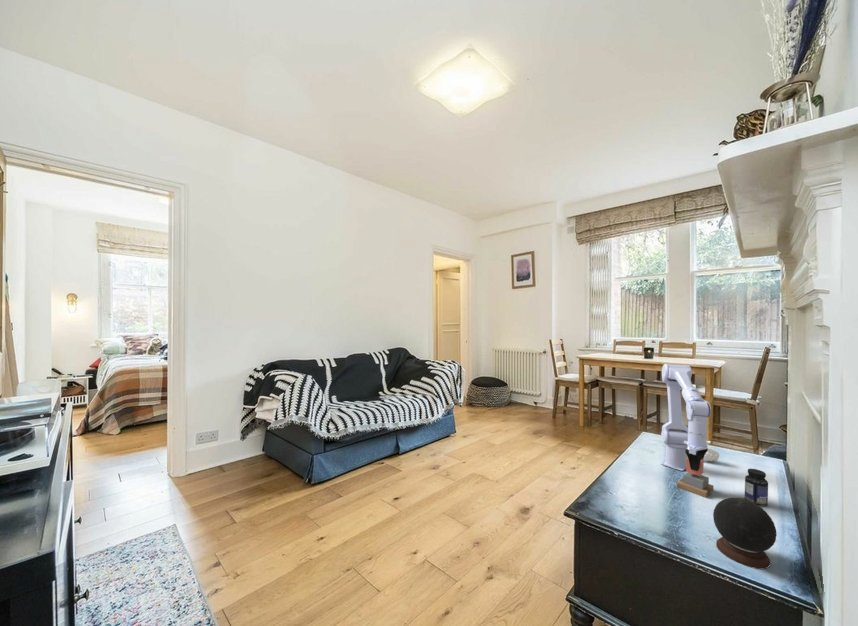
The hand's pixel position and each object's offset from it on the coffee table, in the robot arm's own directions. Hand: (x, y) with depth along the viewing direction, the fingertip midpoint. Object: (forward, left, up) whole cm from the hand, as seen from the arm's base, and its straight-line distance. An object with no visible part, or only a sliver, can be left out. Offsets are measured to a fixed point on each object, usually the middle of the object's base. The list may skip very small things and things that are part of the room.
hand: (695, 468), depth 134 cm
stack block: (0, 0, -2) cm, 2 cm away
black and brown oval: (+33, +20, -8) cm, 39 cm away
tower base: (0, 0, -8) cm, 9 cm away
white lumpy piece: (-35, -7, -8) cm, 37 cm away
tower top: (0, 0, -6) cm, 6 cm away
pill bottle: (-7, +16, -8) cm, 19 cm away
